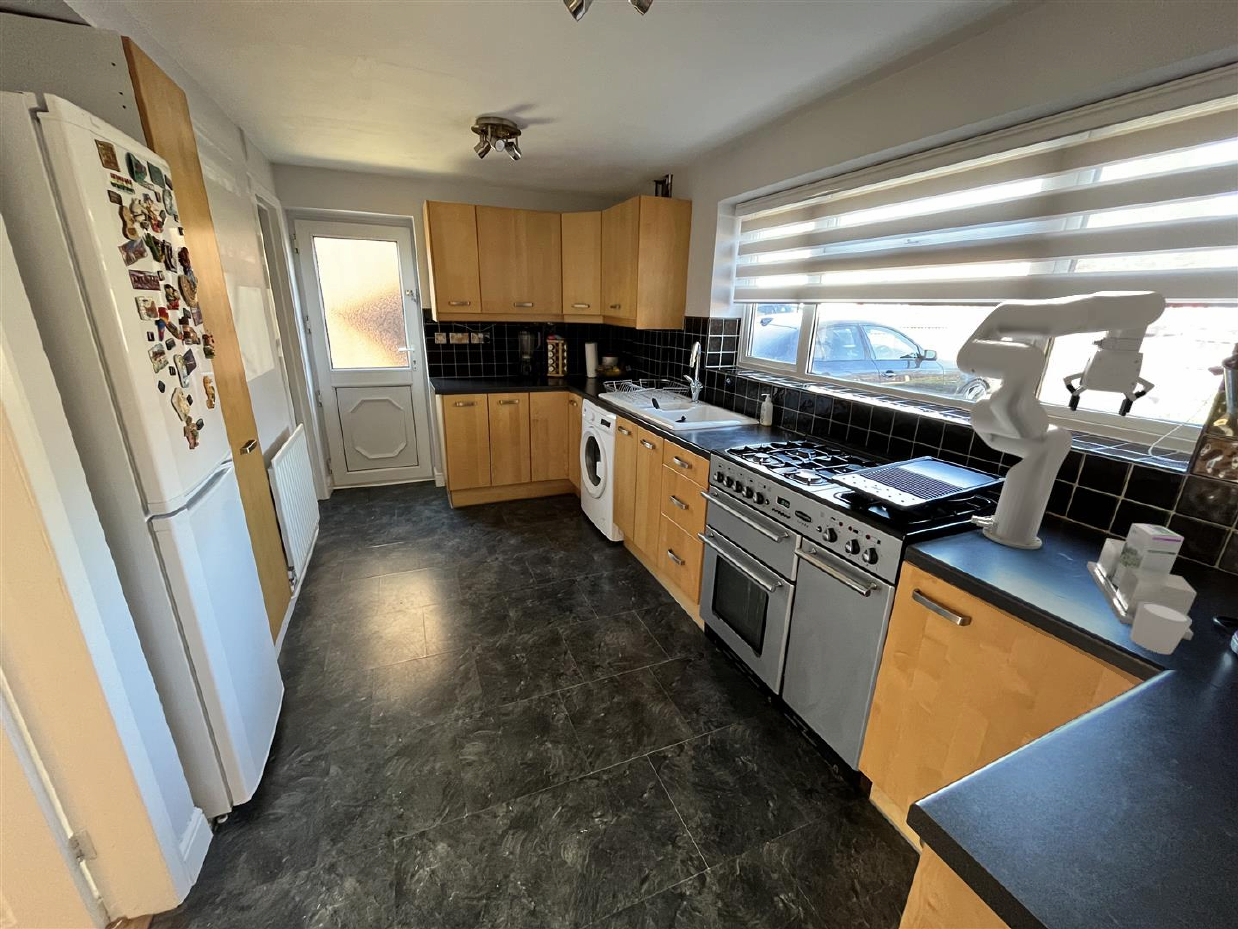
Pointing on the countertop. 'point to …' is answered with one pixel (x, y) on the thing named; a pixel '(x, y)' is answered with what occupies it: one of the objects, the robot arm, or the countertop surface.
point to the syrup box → (1148, 550)
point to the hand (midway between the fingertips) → (1096, 412)
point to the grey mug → (1159, 627)
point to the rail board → (1138, 586)
